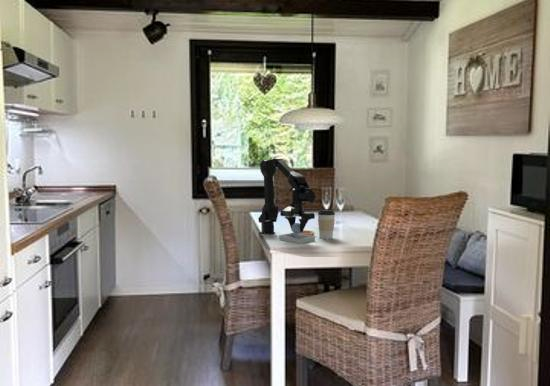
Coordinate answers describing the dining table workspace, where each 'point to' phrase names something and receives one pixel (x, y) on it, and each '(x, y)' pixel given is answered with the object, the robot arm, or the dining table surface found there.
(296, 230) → the ball
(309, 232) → the bowl
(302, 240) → the shallow serving tray
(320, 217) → the coffee cup
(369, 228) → the dining table surface
